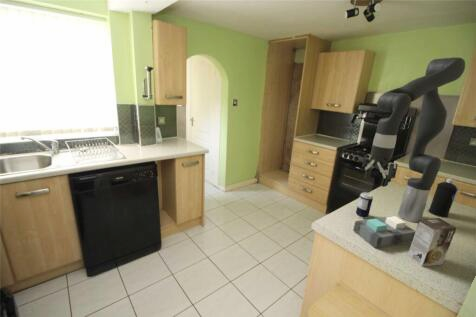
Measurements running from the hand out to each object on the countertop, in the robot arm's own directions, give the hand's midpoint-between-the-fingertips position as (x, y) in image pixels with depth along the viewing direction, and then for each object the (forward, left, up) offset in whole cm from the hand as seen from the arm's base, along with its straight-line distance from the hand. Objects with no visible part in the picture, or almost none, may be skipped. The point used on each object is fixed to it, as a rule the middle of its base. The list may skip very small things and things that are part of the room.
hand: (374, 182), depth 95 cm
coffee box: (-9, +21, -24) cm, 33 cm away
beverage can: (-10, -11, -24) cm, 28 cm away
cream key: (-11, +5, -21) cm, 24 cm away
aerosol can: (-55, -5, -24) cm, 60 cm away
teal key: (0, +5, -21) cm, 21 cm away
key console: (-6, +5, -24) cm, 25 cm away
